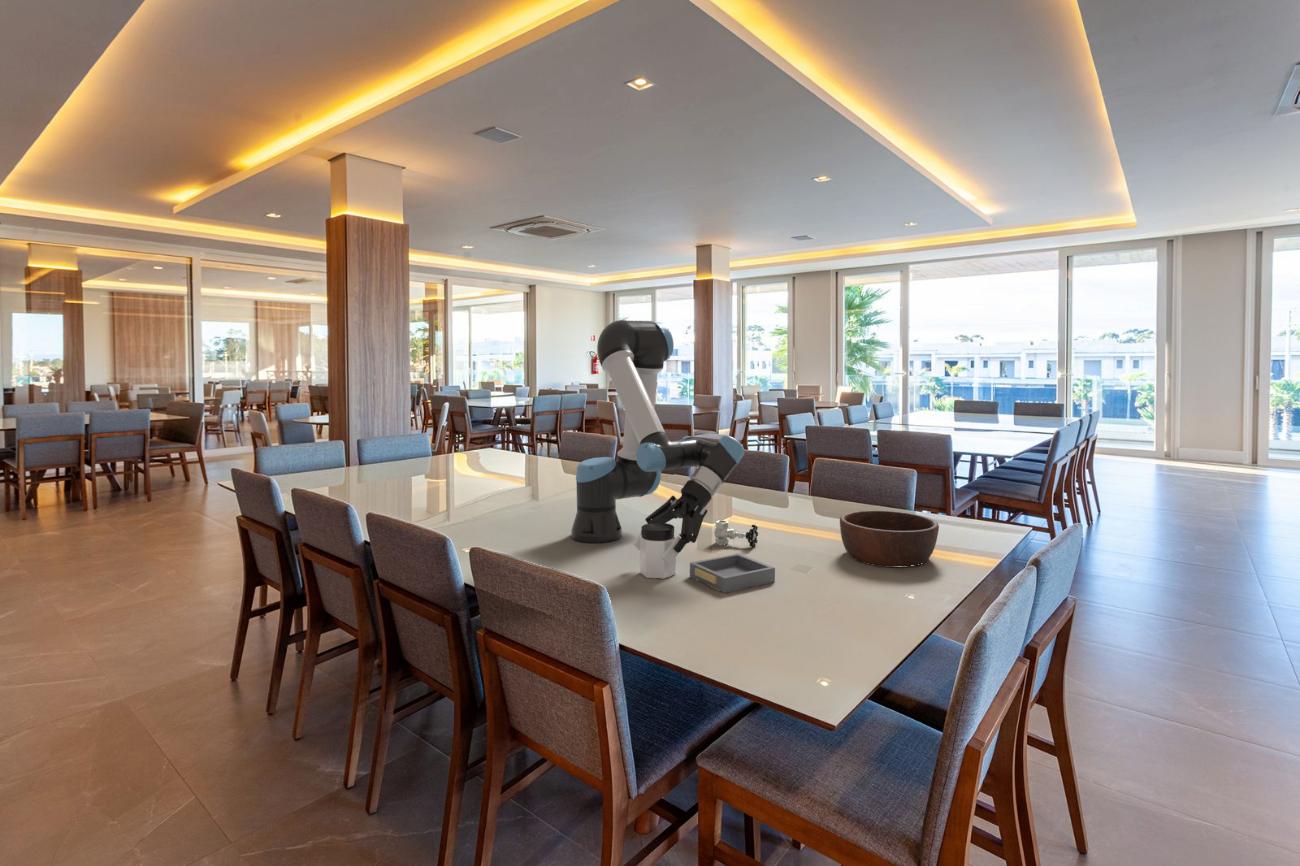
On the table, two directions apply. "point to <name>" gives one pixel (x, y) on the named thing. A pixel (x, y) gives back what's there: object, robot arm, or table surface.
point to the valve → (734, 533)
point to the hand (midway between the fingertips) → (650, 554)
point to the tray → (732, 572)
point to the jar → (656, 550)
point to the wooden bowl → (888, 537)
